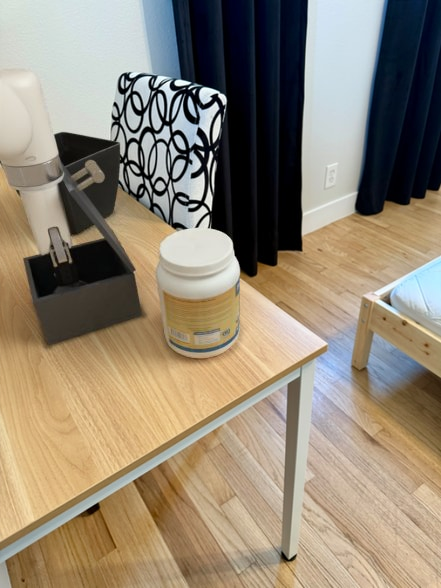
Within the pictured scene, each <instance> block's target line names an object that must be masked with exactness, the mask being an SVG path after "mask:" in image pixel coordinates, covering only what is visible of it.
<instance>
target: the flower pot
mask: <svg viewBox="0 0 441 588" xmlns="http://www.w3.org/2000/svg"><path fill="white" fill-rule="evenodd" d="M54 137H55V141H56V145H57V149H58V153H59V156H60V160H61V162H62V164H63V165H64V166H65V168H66V169H67V170H68V172H69V173H70V174H71V176H72V175H74V174H75V173H77V172H78V171H80V170H82V169H83V168H85V163H86V162H87V161H88V160H93V161H95V162H96V163H97V165H98V166H99V168H100V169H101V171H102V172H103V173H104V176H105V178H104V180H103V182H101V183H96V182H93V183H92V184H90V185H89V186H87V187H86V188H84V189H83V192H84V193H85V194H86V196H87V197H88V198H89V200H90V201H91V202H92V204H93V205H94V206H95V208H96V209H97V210H98V212H99V213H100V214H101V216H102V217H103V218H104V219H106V218H107V217H109V216H111V215H112V214H113V213H114V211H115V206H116V201H117V195H118V190H119V182H120V172H121V171H120V169H121V142H120V141H117V140H111V139H106V138H100V137H95V136H89V135H84V134H81V133H80V134H79V133H74V132H69V131H68V132H67V131H60V132H57V133H54ZM0 166H1V167H2V169H3V166H2V164H1V161H0ZM90 177H91V176H90V175H89V173H87V174H85V175H84V176H82V177H81V178H79V179H78V180H76V182H77V184H78V185H79V184H80V183H82V182H83V181H85V180H86V179H88V178H90ZM58 186H59V190H60V193H61V197H62V201H63V205H64V209H65V213H66V217H67V221H68V226H69V230H70V234H71V235H72V234H73V235H76V234H79V233H82V232H83V231H85V230H87V229H89V228H90V227H92V226H95V225H94V224H93V222H92V221H91V220H90V219H89V217H88V216H87V215H86V213H85V212H84V211H83V210H82V208H81V207H80V206H79V204H78V203H77V202H76V201H75V199H74V198H73V197H72V196H71V194H70V193H69V191H68V189H67V187H66V185H65V183H64V181H63V180H62V181H61V182H59V183H58ZM15 191H16V193H17V194H18V196H19V197H20V198H21V196H20V192H19V190H15Z"/></svg>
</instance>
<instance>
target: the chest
mask: <svg viewBox="0 0 441 588" xmlns="http://www.w3.org/2000/svg"><path fill="white" fill-rule="evenodd" d="M68 248H69V247H68ZM69 252H70V255H71V259H72V260H73V261H74V265H75V267H76V269H77V275H78V279H79V281H83V282H85V283H87V285H84V286H80V287H77V288H73V289H70V290H66V291H62V292H59V293H55V294H53V293H54V290H55V289H56V288H57V287H58V286H59V285H58V282H57V279H56V277H55V275H54V270H53V266H52V263H51V260H50V257H49V254H48V253H47V254H44V255H41V254H40V253H38V254H34V255H30V256H27V257H23V258H22V261H23V266H24V269H25V273H26V278H27V283H28V287H29V292H30V295H31V301H32V304H33V307H34V310H35V312H36V315H37V317H38V321H39V323H40V325H41V327H42V331H43V333H44V336H45V339H46V341H47V344H48V345H49V346H50V345H53V344H56V343H60V342H64V341H67V340H70V339H72V338H76V337H80V336H82V335H85V334H88V333H91V332H92V333H93V332H94V331H97V330H98V331H99V330H101V329H104V328H108V327H110V326H114V325H117V324H119V323H122V322H125V321H129V320H132V319H135V318H138V317H141V316H143V313H142V307H141V302H140V297H139V296H140V295H139V290H138V285H137V279H136V274H135V271H134V272H133V273H132V272H131V271H130V270H129V268H128V267H127V266H126V265H125V263H124V262H123V261H122V259H121V258H120V257H119V256H118V254H117V253H116V252H115V250H114V249H113V248H112V247H111V245H110V244H109V243H108V242H107V240H106V239H105V238H104V237H103V238H99V239H94V240H91V241H86V242H83V243H78V244H75V245H72V247H71V248H70V249H69Z"/></svg>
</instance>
